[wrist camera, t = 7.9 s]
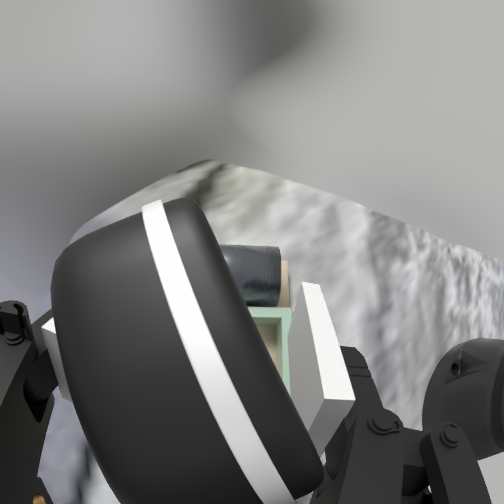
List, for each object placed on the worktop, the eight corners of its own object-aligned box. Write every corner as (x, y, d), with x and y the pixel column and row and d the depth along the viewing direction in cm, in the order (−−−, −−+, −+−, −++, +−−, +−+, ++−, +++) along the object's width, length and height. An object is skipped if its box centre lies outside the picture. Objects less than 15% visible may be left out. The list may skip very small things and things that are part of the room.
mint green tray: (284, 267, 29) (298, 234, 23) (287, 442, 21) (306, 458, 15) (164, 262, 28) (149, 228, 22) (151, 436, 20) (127, 449, 14)
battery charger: (154, 334, 15) (18, 221, 4) (217, 310, 15) (182, 151, 5) (204, 452, 12) (129, 575, 2) (271, 426, 13) (358, 515, 2)
